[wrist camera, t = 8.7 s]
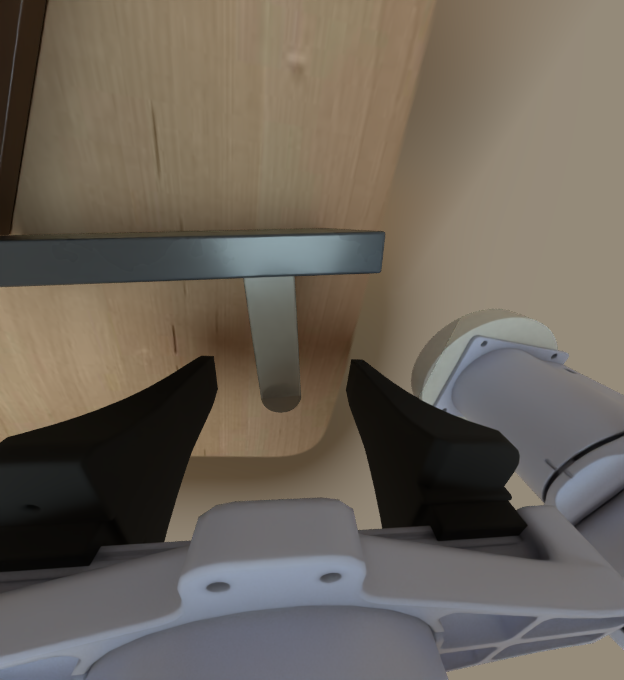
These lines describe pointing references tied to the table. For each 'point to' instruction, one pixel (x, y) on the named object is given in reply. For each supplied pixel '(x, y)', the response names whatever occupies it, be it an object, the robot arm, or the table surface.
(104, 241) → the door
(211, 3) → the table surface
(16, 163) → the cabinet
